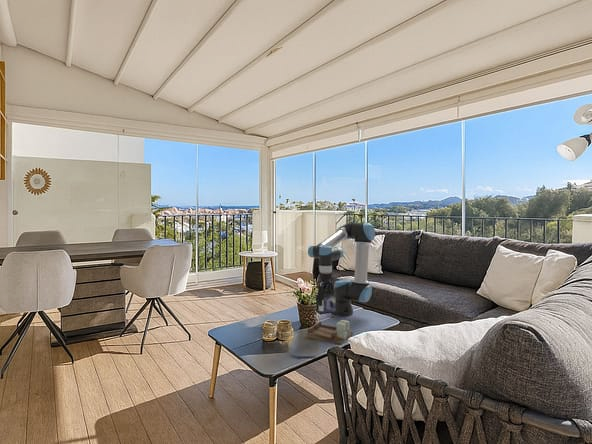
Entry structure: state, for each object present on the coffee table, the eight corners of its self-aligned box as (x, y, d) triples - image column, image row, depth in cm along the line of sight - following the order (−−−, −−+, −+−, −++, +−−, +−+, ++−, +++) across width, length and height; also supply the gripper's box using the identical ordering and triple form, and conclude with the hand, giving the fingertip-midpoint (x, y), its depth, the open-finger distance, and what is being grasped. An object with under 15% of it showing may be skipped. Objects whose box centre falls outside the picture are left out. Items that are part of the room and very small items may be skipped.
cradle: (320, 327, 227) (320, 312, 226) (353, 334, 215) (353, 318, 215) (306, 337, 211) (306, 321, 211) (341, 344, 200) (341, 327, 199)
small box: (320, 315, 209) (320, 297, 208) (315, 311, 215) (315, 294, 214) (336, 312, 213) (336, 295, 212) (331, 309, 219) (331, 292, 218)
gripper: (328, 268, 225) (328, 302, 226) (310, 275, 204) (310, 312, 205) (339, 269, 221) (339, 303, 222) (322, 276, 200) (322, 314, 202)
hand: (325, 308), depth 214 cm, fingers closed on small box, 12 cm apart
